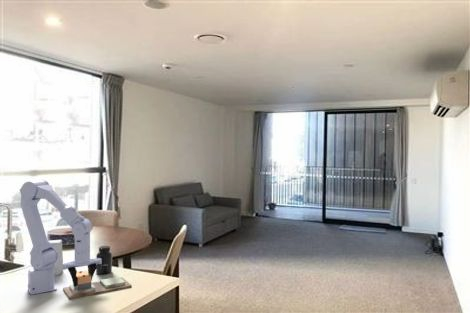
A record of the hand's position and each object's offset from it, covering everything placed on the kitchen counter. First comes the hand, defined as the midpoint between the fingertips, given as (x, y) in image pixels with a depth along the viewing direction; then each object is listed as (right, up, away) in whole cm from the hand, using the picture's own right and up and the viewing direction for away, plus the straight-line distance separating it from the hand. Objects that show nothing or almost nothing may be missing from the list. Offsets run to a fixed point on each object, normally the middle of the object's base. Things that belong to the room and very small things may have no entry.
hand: (82, 284), depth 151 cm
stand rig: (+5, -3, +3) cm, 7 cm away
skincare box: (-23, -3, +22) cm, 32 cm away
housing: (0, -1, 0) cm, 1 cm away
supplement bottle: (+1, -3, +24) cm, 24 cm away
